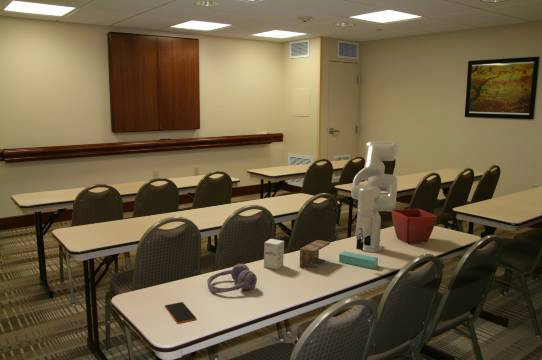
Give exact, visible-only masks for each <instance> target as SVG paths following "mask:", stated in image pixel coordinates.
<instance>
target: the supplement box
mask: <svg viewBox="0 0 542 360" xmlns="http://www.w3.org/2000/svg"><path fill="white" fill-rule="evenodd" d="M263 244H264V245H263V246H264V250H263V251H264V252H263V268H268V269H273V270H279V269H280V268H281V267H283V266H284V259H285V258H284V257H285V256H284V253H285V251H284V249H285V241H284V240H280V239H275V238H270V239H268V240H266V241H264V243H263Z"/></svg>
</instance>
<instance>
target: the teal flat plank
mask: <svg viewBox="0 0 542 360" xmlns="http://www.w3.org/2000/svg"><path fill="white" fill-rule="evenodd" d="M338 262H339V263H344V264H347V265H352V266H357V267H361V268H365V269H366V268H367V269H370V270H375V268H376V267H378V266H379V265H378V264H379V257H376V256H370V255H365V254H362V253H355V252H350V251H346V250H344V251H342V252H340V253H339V254H338Z"/></svg>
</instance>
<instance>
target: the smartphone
mask: <svg viewBox="0 0 542 360" xmlns="http://www.w3.org/2000/svg"><path fill="white" fill-rule="evenodd" d="M164 308H165V309H166V311H167V312H168V313H169V314H170V316H171V317H172V320H173V321H174V322H175V323H176V324H177V325H179V324H184V323H188V322H194V321H196V320H197V317H196V316H195V314H194V313H193V312H192V311H191V310H190V308H188V307H187V305H186V304H185V303H184V302H183V301H180V302H174V303H170V304H169V303H168V304H165V305H164Z"/></svg>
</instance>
